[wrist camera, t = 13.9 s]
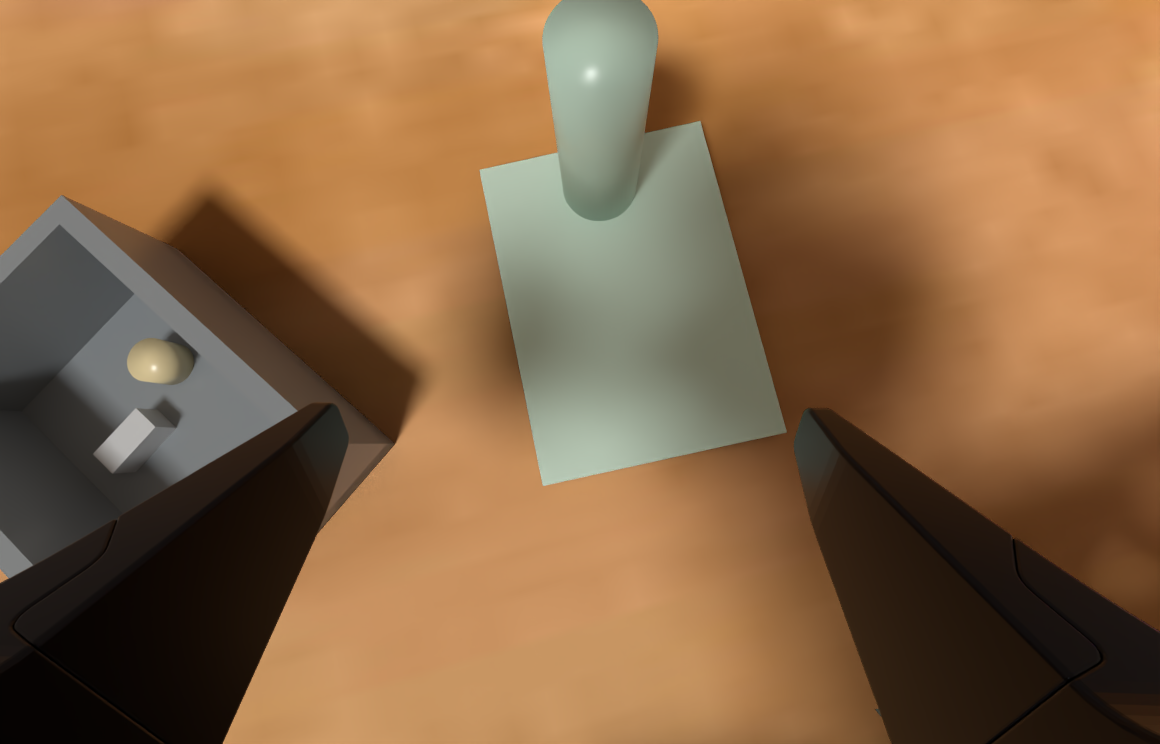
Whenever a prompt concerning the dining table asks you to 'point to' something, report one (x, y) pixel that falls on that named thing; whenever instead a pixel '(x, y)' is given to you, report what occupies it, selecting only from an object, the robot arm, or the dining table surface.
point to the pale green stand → (623, 267)
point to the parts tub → (130, 380)
